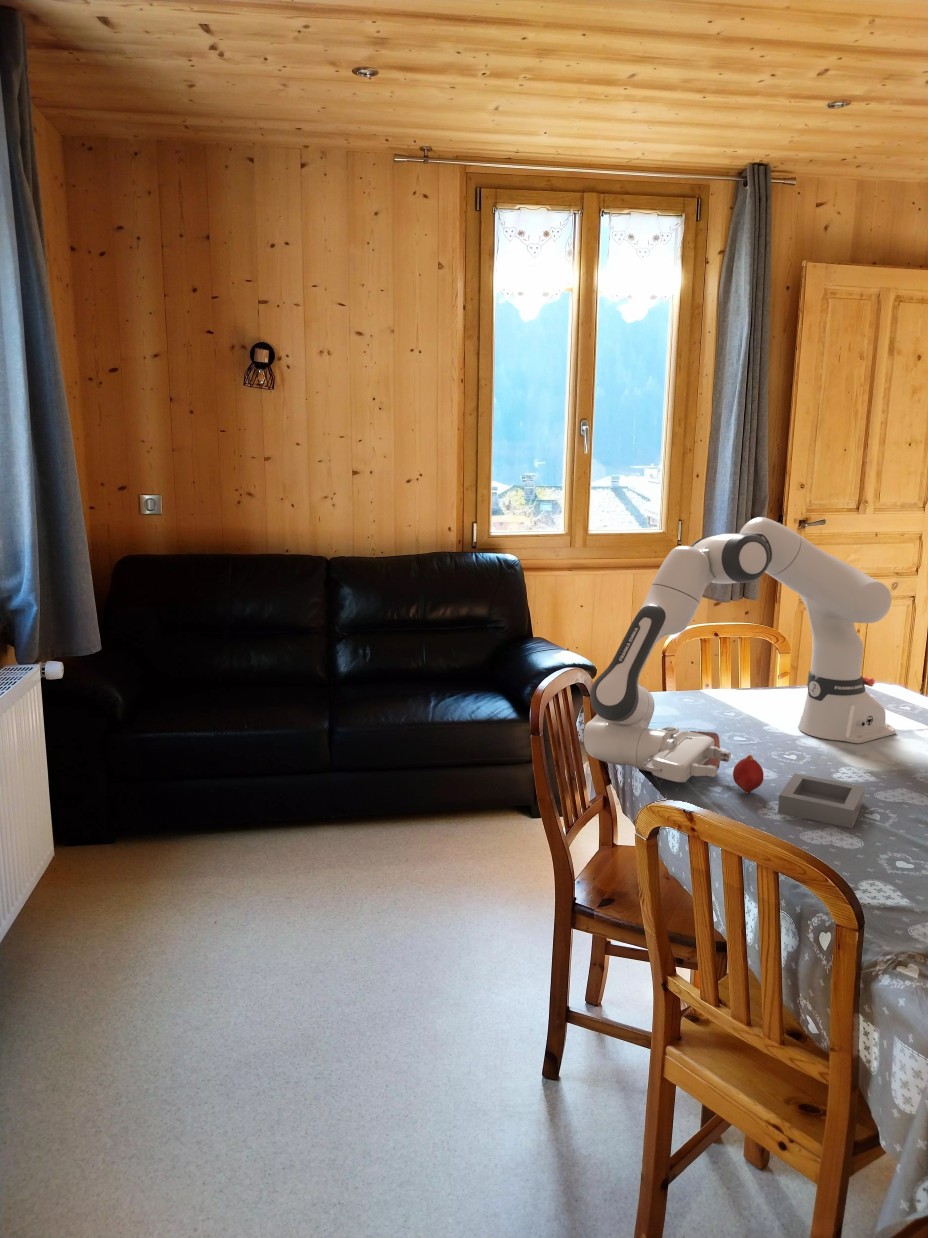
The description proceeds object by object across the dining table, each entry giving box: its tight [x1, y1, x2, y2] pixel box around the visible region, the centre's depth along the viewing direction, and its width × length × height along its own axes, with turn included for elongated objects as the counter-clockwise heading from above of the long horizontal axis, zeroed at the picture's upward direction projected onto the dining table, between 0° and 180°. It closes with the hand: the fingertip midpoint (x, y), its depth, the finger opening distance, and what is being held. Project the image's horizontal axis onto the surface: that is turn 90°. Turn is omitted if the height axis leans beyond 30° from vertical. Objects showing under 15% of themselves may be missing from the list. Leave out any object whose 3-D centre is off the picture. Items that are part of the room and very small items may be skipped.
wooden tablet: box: [689, 730, 721, 769], centre depth 199 cm, size 27×10×2 cm, turn 162°
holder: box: [777, 772, 866, 829], centre depth 168 cm, size 13×13×4 cm
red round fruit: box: [732, 754, 764, 794], centre depth 175 cm, size 6×6×8 cm
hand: (723, 764), depth 177 cm, fingers open, 8 cm apart
